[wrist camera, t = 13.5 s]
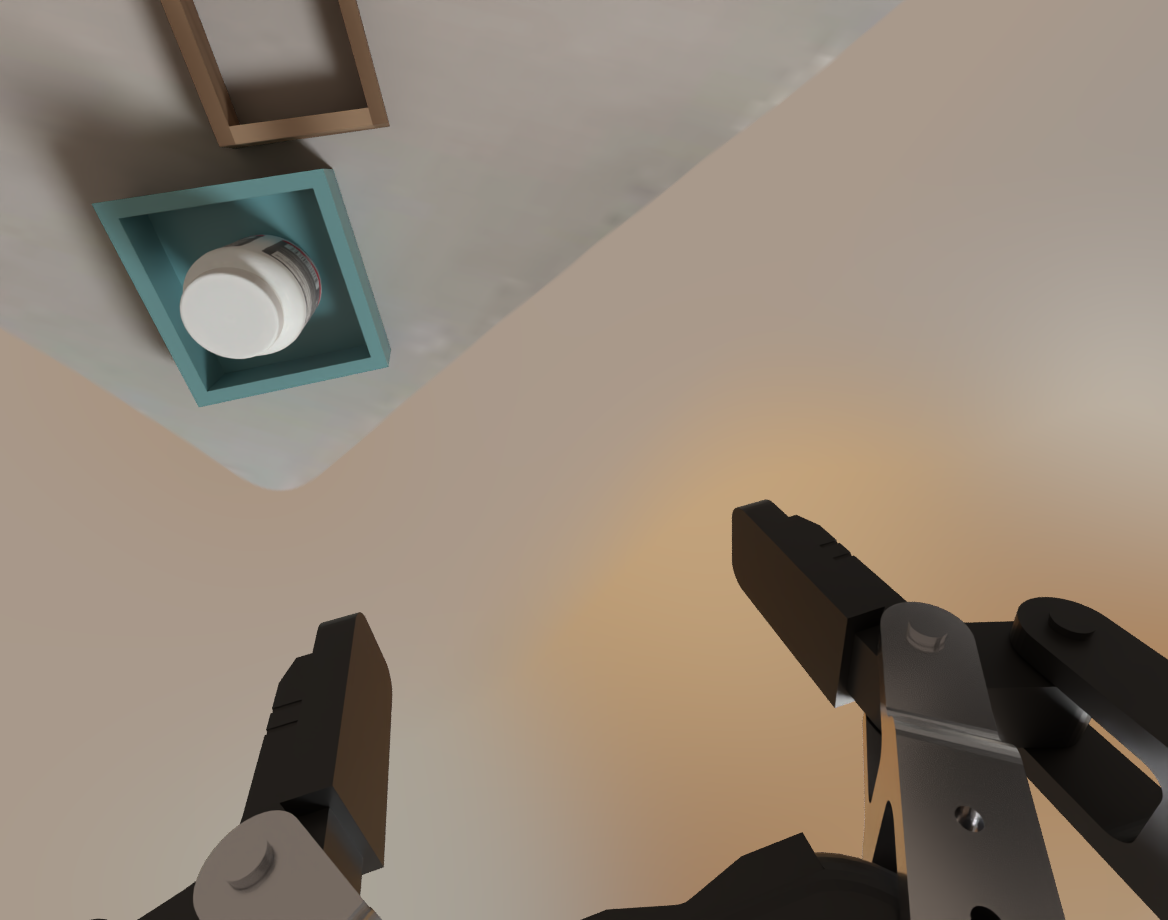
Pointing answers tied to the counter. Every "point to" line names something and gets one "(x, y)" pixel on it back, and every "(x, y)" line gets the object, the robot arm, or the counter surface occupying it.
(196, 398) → the tray
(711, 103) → the counter surface
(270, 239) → the pill bottle
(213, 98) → the brown open box
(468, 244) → the counter surface
